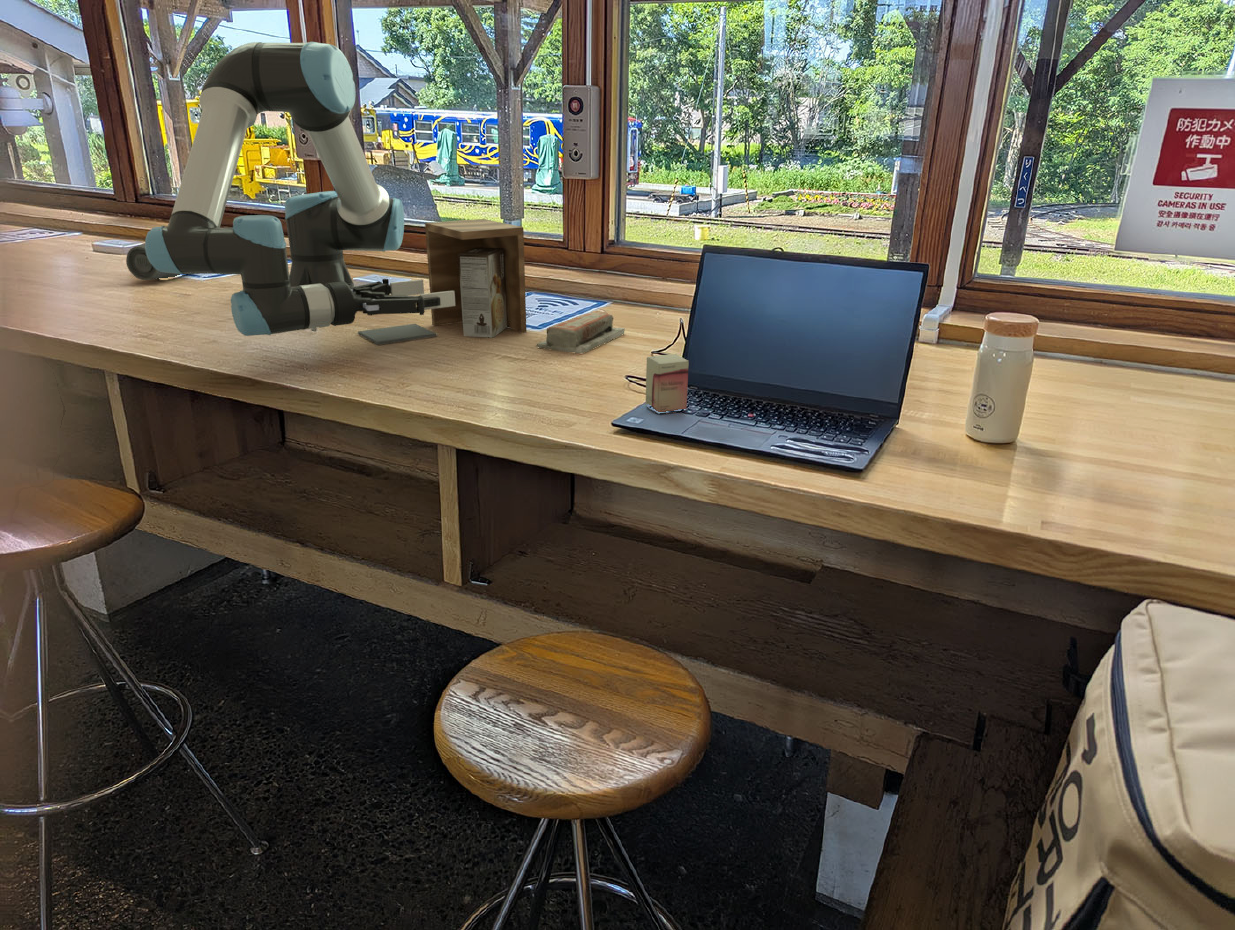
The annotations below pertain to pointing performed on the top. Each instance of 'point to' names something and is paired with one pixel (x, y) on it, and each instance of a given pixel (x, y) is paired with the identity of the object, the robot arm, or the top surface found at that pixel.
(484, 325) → the coffee box
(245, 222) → the robot arm
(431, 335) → the mat
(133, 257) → the bluetooth speaker
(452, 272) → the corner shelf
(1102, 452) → the top surface
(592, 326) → the packaged product
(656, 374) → the small box
